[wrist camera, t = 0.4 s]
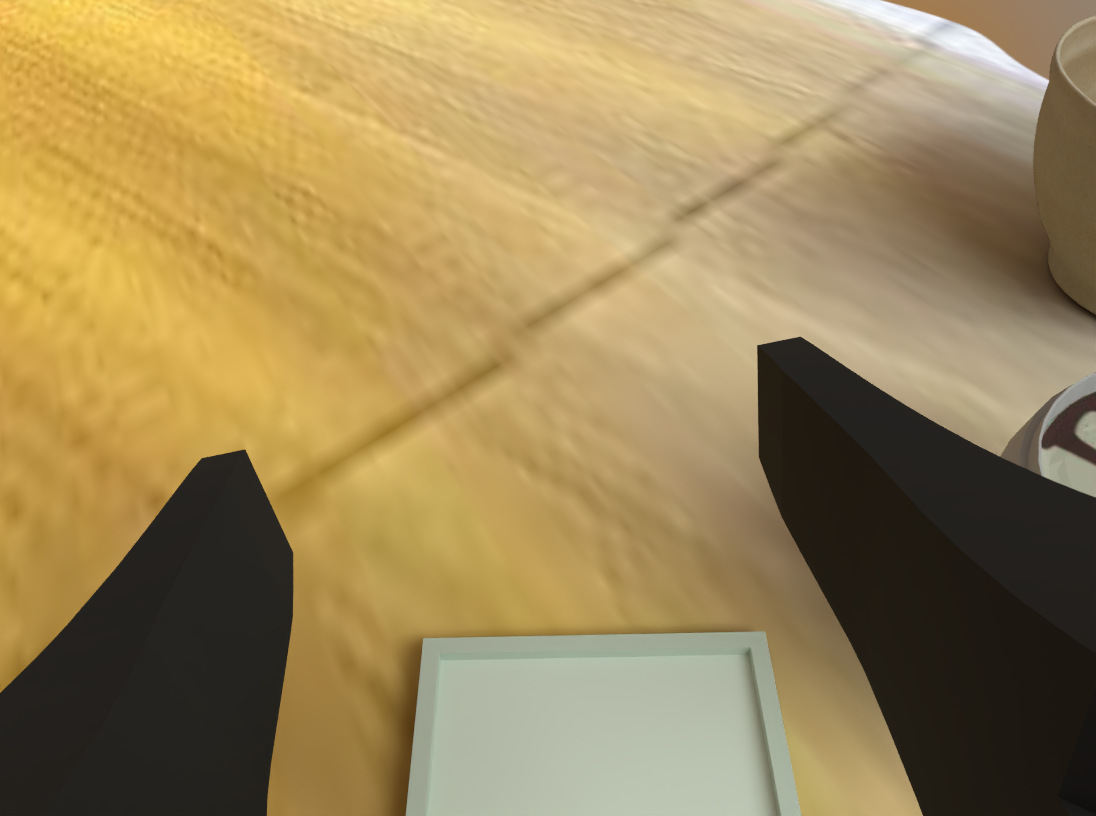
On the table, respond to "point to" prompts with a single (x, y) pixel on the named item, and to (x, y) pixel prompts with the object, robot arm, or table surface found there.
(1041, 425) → the food container
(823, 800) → the table surface
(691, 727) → the coaster
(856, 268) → the table surface
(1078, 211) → the planter bowl
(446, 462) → the table surface
